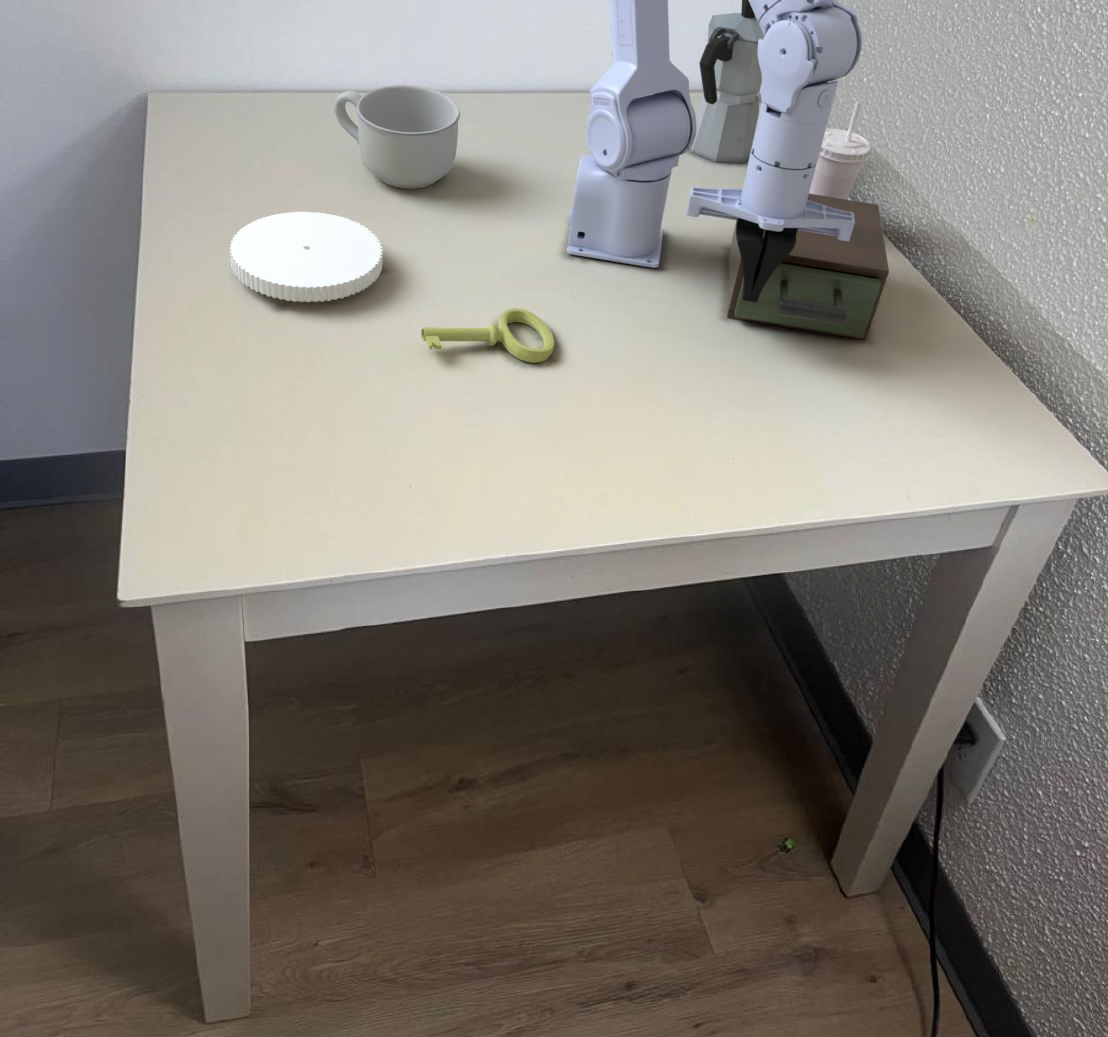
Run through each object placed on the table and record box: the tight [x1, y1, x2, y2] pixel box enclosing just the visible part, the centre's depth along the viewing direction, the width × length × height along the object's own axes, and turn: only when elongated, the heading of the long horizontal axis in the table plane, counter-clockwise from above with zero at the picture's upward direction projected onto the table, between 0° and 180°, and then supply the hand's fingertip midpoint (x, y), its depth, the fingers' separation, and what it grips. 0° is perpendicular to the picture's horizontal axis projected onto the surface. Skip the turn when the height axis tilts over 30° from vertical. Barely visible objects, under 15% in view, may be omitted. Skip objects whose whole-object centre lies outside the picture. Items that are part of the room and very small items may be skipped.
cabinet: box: [726, 194, 890, 341], centre depth 116 cm, size 14×14×8 cm
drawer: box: [735, 259, 881, 338], centre depth 113 cm, size 18×12×6 cm
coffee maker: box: [689, 0, 765, 164], centre depth 135 cm, size 15×9×18 cm, turn 144°
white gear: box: [229, 210, 383, 303], centre depth 110 cm, size 14×14×2 cm
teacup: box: [333, 84, 461, 190], centre depth 126 cm, size 14×11×8 cm
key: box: [420, 307, 556, 364], centre depth 104 cm, size 7×12×2 cm, turn 126°
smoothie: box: [809, 100, 872, 200], centre depth 125 cm, size 6×6×14 cm
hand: (750, 296), depth 109 cm, fingers closed, pressing on drawer
